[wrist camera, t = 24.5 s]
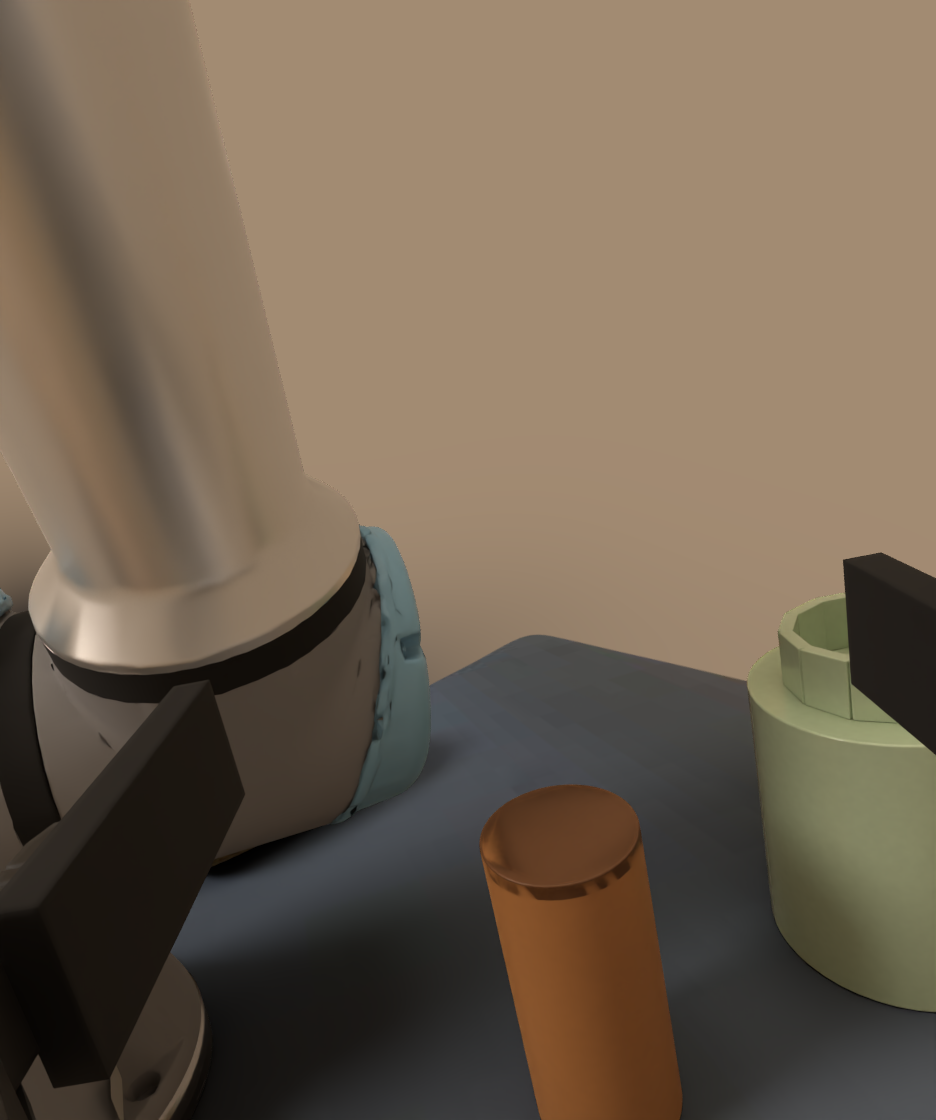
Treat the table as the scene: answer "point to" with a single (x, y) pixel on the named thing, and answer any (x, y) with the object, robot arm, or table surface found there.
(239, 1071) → the table surface
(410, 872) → the table surface
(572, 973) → the brown cylindrical canister
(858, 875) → the jug
